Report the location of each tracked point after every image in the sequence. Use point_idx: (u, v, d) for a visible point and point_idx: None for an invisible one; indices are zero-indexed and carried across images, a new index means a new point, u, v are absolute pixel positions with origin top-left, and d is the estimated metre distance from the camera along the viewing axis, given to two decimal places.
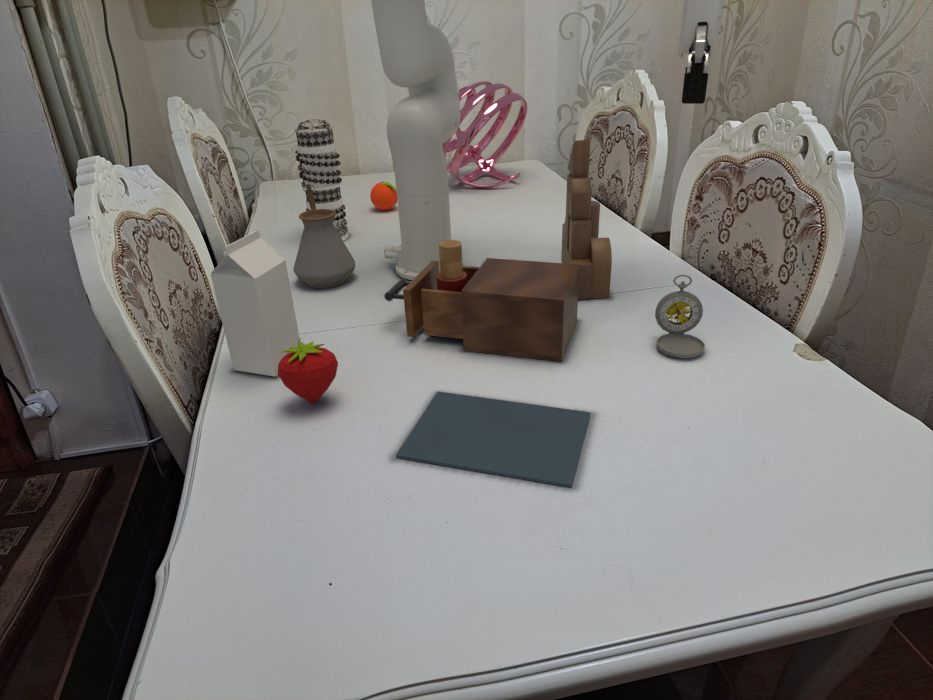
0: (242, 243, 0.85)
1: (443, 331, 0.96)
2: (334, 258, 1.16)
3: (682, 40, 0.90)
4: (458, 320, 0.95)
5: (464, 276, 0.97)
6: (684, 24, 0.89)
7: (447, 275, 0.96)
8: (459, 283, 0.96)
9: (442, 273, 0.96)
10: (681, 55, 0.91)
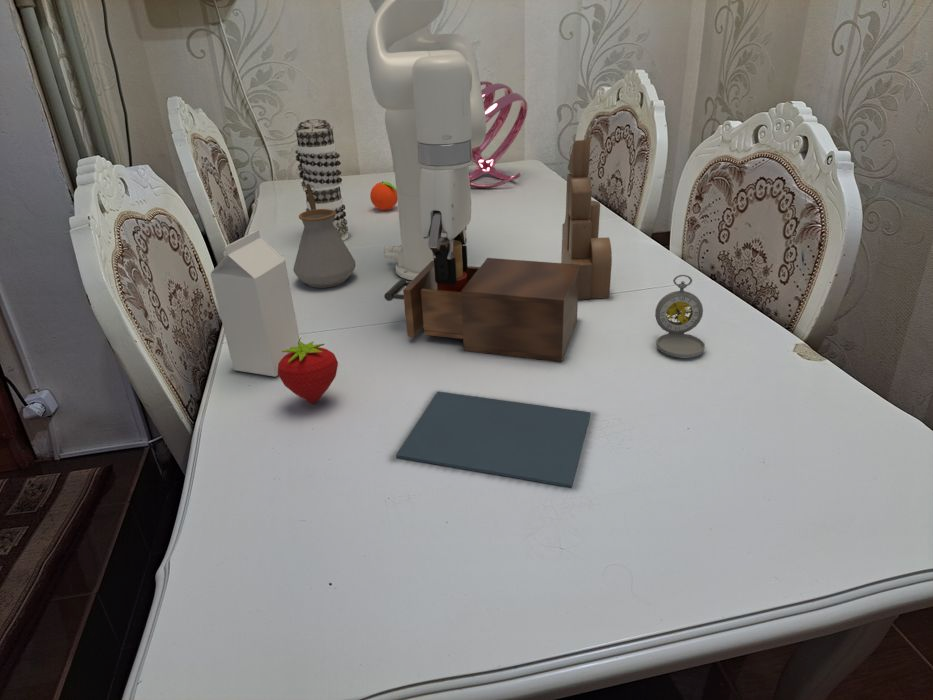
0: (242, 243, 0.85)
1: (443, 331, 0.96)
2: (334, 258, 1.16)
3: (421, 225, 0.90)
4: (458, 320, 0.95)
5: (464, 276, 0.97)
6: (420, 211, 0.89)
7: None
8: (459, 283, 0.96)
9: None
10: (423, 237, 0.91)
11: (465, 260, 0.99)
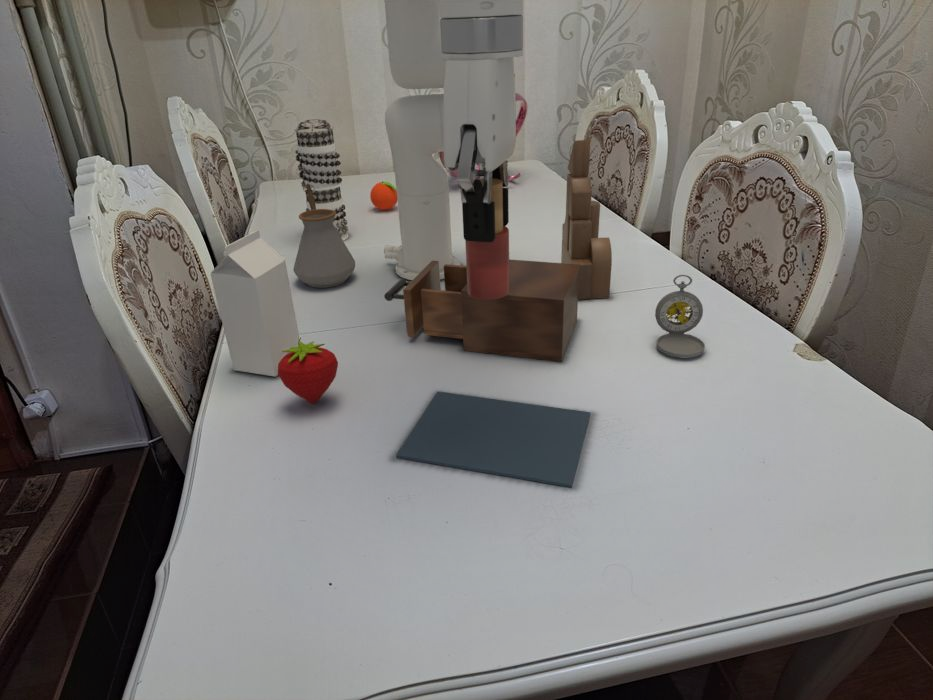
0: (242, 243, 0.85)
1: (443, 331, 0.96)
2: (334, 258, 1.16)
3: (445, 149, 0.60)
4: (458, 320, 0.95)
5: (505, 231, 0.67)
6: (444, 126, 0.59)
7: None
8: (498, 240, 0.66)
9: None
10: (448, 169, 0.61)
11: (506, 210, 0.68)
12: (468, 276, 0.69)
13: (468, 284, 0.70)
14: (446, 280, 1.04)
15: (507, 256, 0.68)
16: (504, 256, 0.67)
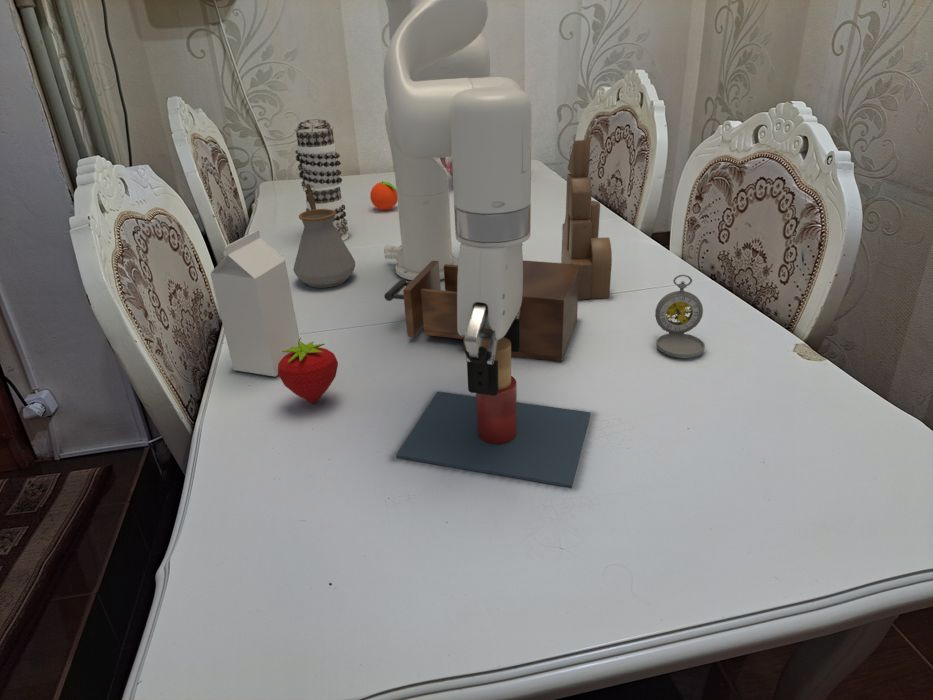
0: (242, 243, 0.85)
1: (443, 331, 0.96)
2: (334, 258, 1.16)
3: (458, 320, 0.65)
4: None
5: (513, 385, 0.72)
6: (458, 301, 0.64)
7: None
8: (507, 395, 0.71)
9: None
10: (461, 335, 0.66)
11: (518, 338, 0.75)
12: (478, 422, 0.74)
13: (478, 428, 0.75)
14: (446, 280, 1.04)
15: (515, 406, 0.73)
16: (512, 407, 0.73)
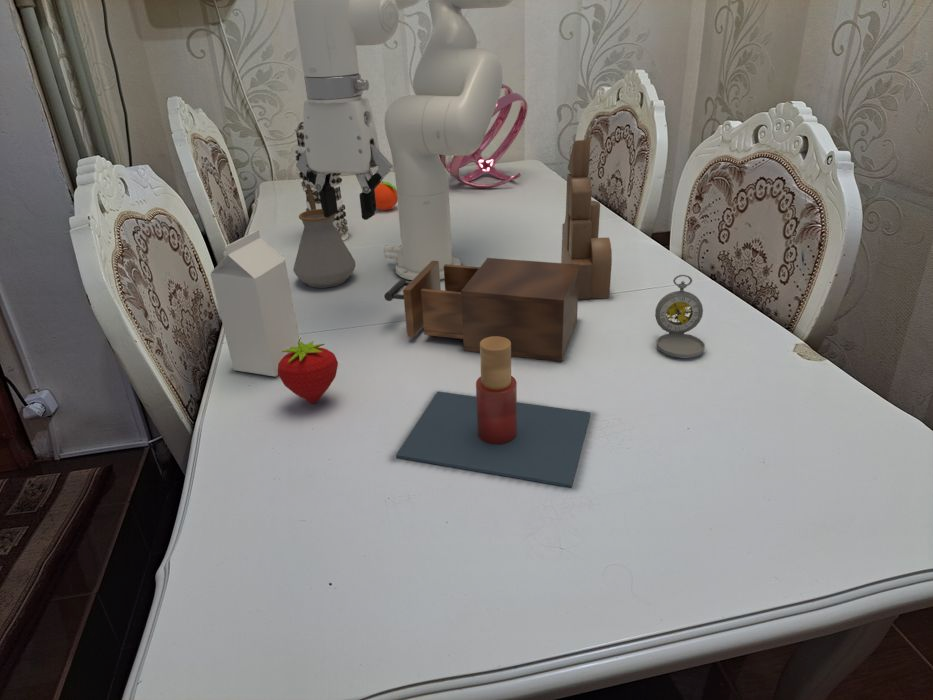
0: (242, 243, 0.85)
1: (443, 331, 0.96)
2: (334, 258, 1.16)
3: None
4: (458, 320, 0.95)
5: (513, 385, 0.72)
6: None
7: (491, 385, 0.71)
8: (507, 395, 0.71)
9: (484, 381, 0.72)
10: None
11: (362, 208, 0.95)
12: (478, 422, 0.74)
13: (478, 428, 0.75)
14: (446, 280, 1.04)
15: (515, 406, 0.73)
16: (512, 407, 0.73)
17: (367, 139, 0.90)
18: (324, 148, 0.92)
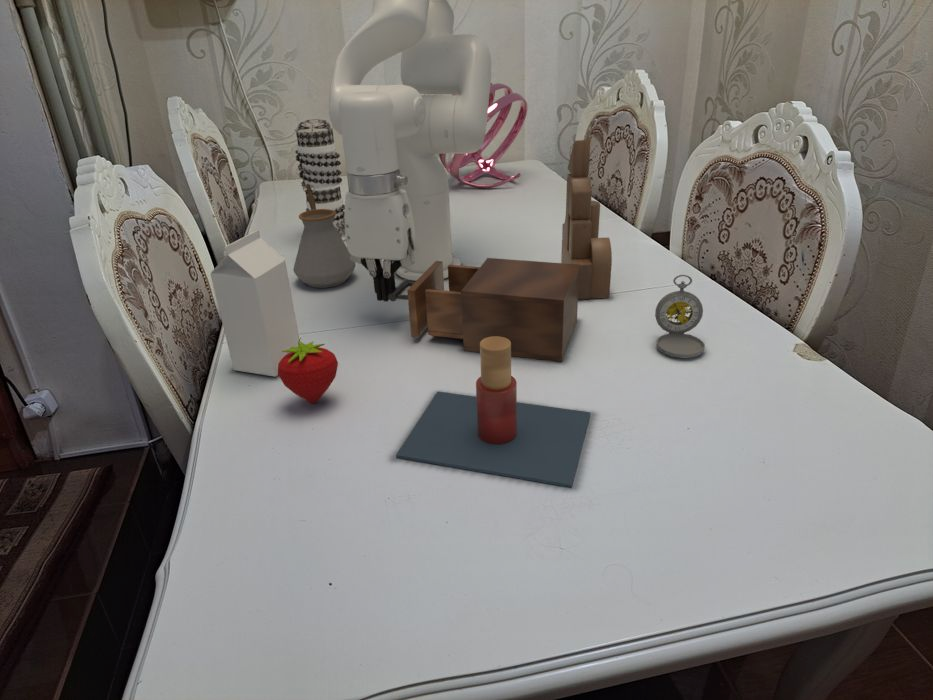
0: (242, 243, 0.85)
1: (447, 331, 0.96)
2: (334, 258, 1.16)
3: None
4: None
5: (513, 385, 0.72)
6: None
7: (491, 385, 0.71)
8: (507, 395, 0.71)
9: (484, 381, 0.72)
10: None
11: (383, 291, 1.01)
12: (478, 422, 0.74)
13: (478, 428, 0.75)
14: (450, 280, 1.04)
15: (515, 406, 0.73)
16: (512, 407, 0.73)
17: (405, 230, 0.95)
18: (364, 237, 0.96)
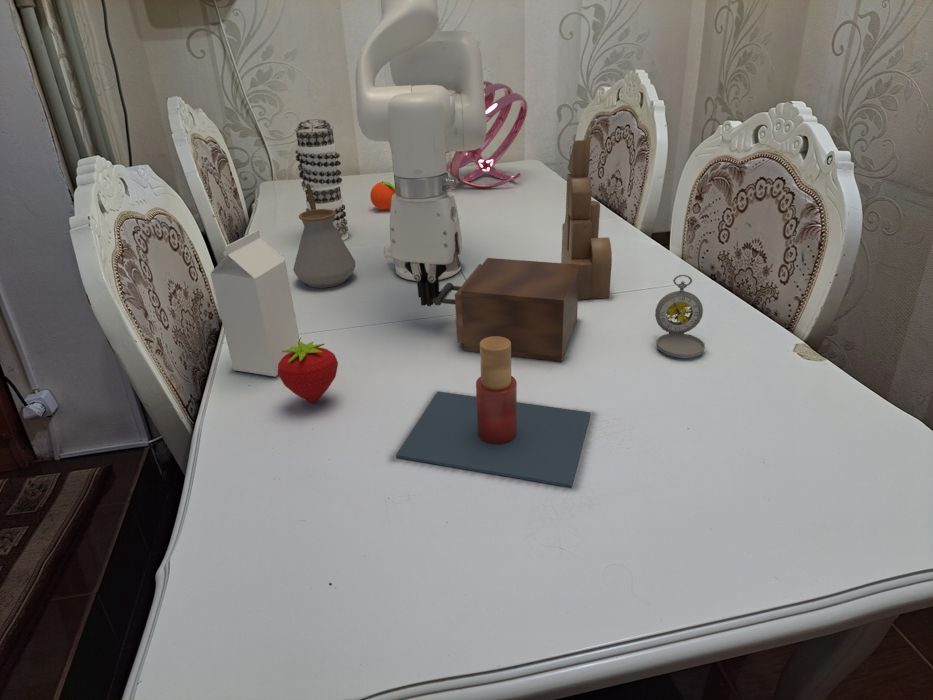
0: (242, 243, 0.85)
1: None
2: (334, 258, 1.16)
3: None
4: None
5: (513, 385, 0.72)
6: None
7: (491, 385, 0.71)
8: (507, 395, 0.71)
9: (484, 381, 0.72)
10: None
11: (427, 296, 0.99)
12: (478, 422, 0.74)
13: (478, 428, 0.75)
14: None
15: (515, 406, 0.73)
16: (512, 407, 0.73)
17: (452, 233, 0.93)
18: (410, 241, 0.94)
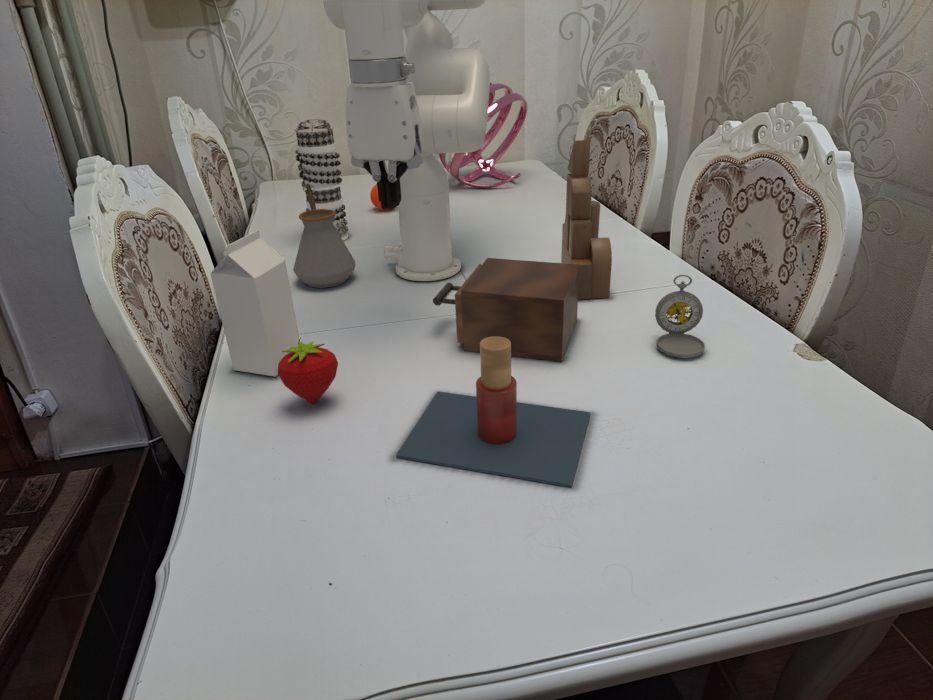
0: (242, 243, 0.85)
1: None
2: (334, 258, 1.16)
3: None
4: None
5: (513, 385, 0.72)
6: None
7: (491, 385, 0.71)
8: (507, 395, 0.71)
9: (484, 381, 0.72)
10: None
11: (388, 198, 0.93)
12: (478, 422, 0.74)
13: (478, 428, 0.75)
14: None
15: (515, 406, 0.73)
16: (512, 407, 0.73)
17: (412, 125, 0.88)
18: (367, 134, 0.89)
